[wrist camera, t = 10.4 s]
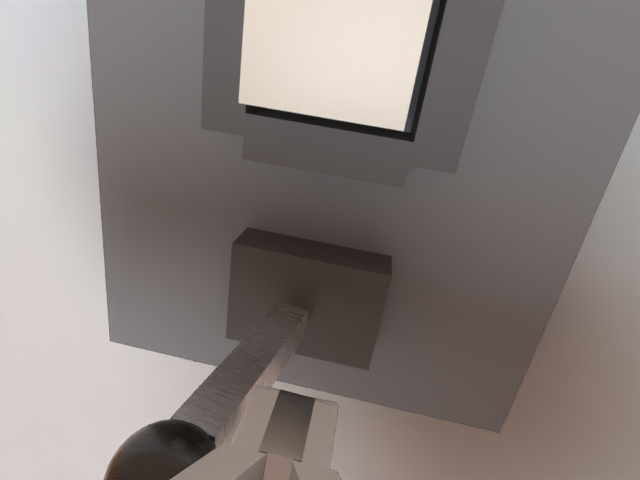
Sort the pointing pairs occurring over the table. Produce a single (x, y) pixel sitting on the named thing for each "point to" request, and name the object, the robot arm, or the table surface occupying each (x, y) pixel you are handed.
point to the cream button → (333, 57)
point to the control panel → (361, 196)
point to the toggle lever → (213, 402)
